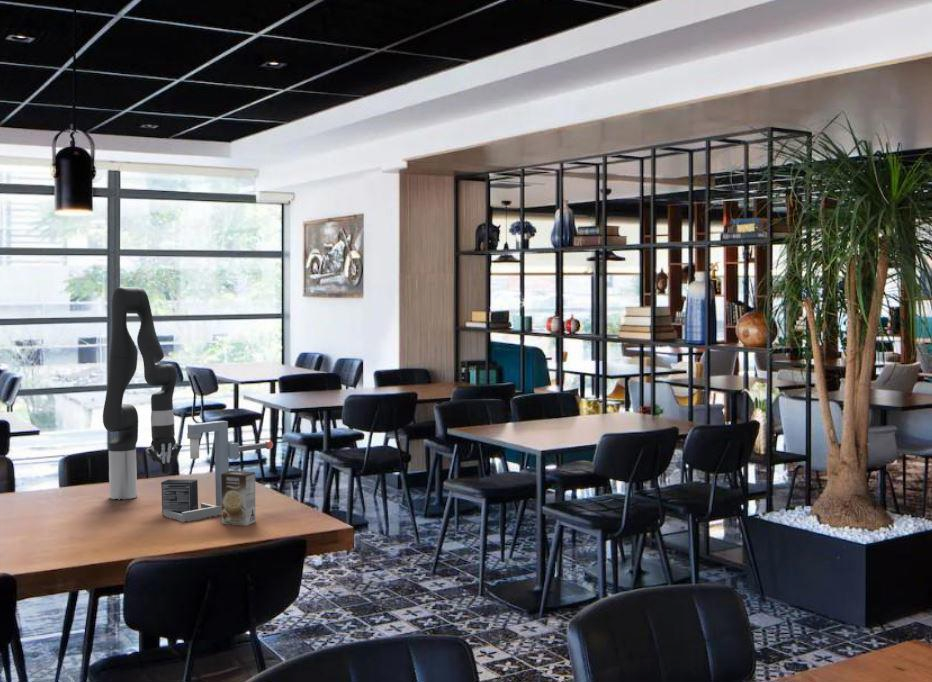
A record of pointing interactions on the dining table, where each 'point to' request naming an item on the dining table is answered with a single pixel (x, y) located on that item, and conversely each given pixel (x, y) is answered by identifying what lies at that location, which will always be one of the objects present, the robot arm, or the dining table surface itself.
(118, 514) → the dining table surface
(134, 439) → the robot arm
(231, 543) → the dining table surface
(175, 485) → the small box
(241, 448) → the lever
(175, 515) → the press
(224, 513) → the coffee box
